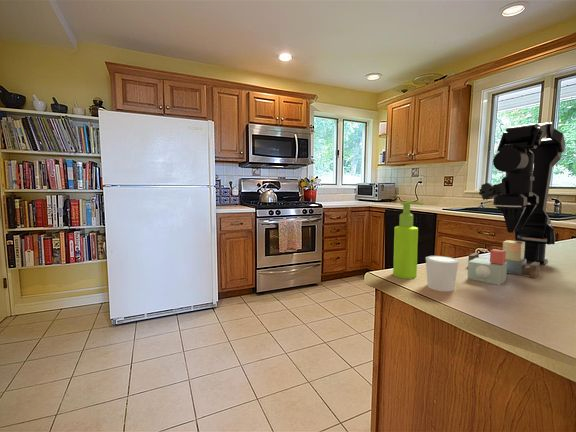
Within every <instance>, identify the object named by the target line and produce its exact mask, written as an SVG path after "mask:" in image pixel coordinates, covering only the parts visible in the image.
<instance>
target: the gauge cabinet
mask: <svg viewBox="0 0 576 432" xmlns="http://www.w3.org/2000/svg"><path fill="white" fill-rule="evenodd" d="M507 273H508V272H507V262H505V263H504V264H497V263H491V262H490V259H488V258H487V259H486V258H480V257H479V258H475V259H473V260H471V261H468V262H467V279H469V280H474V281H478V282H483V283H488V284H493V285H497V286H500V285H502V283H504V282H505V281H506V280H507Z"/></svg>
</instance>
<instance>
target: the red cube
mask: <svg viewBox="0 0 576 432" xmlns="http://www.w3.org/2000/svg"><path fill="white" fill-rule="evenodd" d="M489 251H490V252H489V260H490V262H491V263H497V264H504V263H505V260H506V251H505V250H503V249H496V248H495V249H494V248H493V249H491V250H489Z"/></svg>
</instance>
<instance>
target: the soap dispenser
mask: <svg viewBox="0 0 576 432" xmlns="http://www.w3.org/2000/svg"><path fill="white" fill-rule="evenodd" d="M400 205H402V207H403V208H402V212H401V213H400V214H399V222H398V223H399V224H398V225H396V226H394V228H393V229H394V230H393V231H394V235H393V236H394V237H393V268H392V269H393V270H392V273H393V276H394V277H396V278H400V279H415V278H417V275H418V274H417V273H418V272H417V271H418V243H419V242H418V241H419V227H418V226H417V227H416V226H414V214H413V213H411V205H418V206H423V205H424V203H423V202H420V201H400Z"/></svg>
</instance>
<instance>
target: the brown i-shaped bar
mask: <svg viewBox="0 0 576 432" xmlns="http://www.w3.org/2000/svg"><path fill="white" fill-rule="evenodd" d="M479 256H480V253H478V252H477V253H476V252H473V253H470V254H468V258H467V259H468V261H471V260H473V259H475V258H480V257H479ZM540 265H541V264H540V262H533V263H530V264H529V265H526V266H525V265H524V266H523V270H522V274H517V273H511V272H507V273H508V274H515V275H519V276H526V277H528V278H531V279H536V278H538V276H539V275H540V267H541V266H540Z"/></svg>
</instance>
